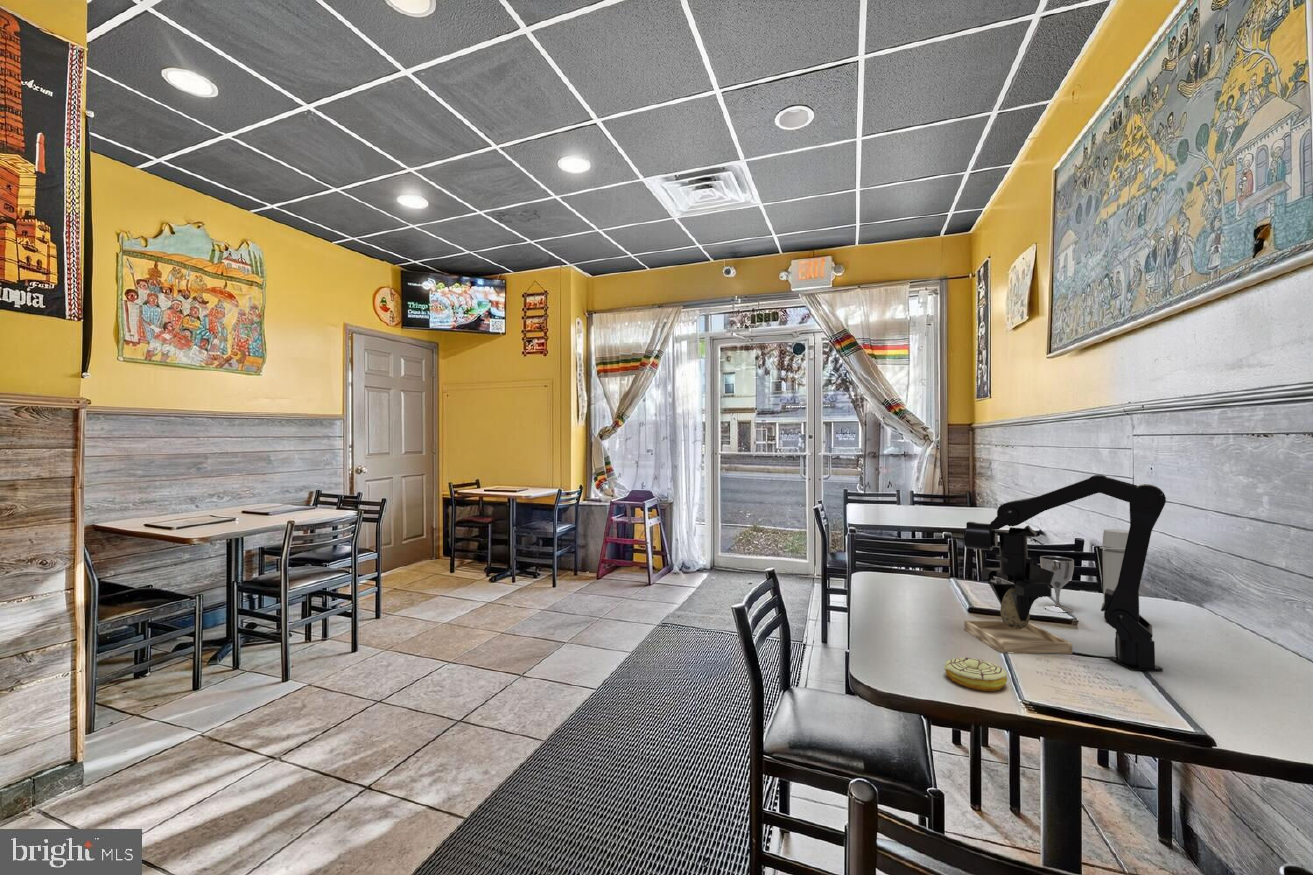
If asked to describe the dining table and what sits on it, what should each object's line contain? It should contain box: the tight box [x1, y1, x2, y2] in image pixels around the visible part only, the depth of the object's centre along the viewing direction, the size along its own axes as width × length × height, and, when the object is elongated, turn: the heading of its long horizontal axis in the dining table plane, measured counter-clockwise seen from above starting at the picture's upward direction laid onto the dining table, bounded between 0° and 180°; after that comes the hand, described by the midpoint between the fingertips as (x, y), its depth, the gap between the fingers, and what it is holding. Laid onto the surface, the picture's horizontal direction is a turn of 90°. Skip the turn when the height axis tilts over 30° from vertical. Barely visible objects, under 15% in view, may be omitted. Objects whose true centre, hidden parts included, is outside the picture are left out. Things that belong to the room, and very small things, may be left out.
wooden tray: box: [963, 620, 1073, 655], centre depth 131 cm, size 16×16×2 cm
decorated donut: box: [943, 657, 1008, 692], centre depth 109 cm, size 10×11×4 cm
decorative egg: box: [1000, 588, 1030, 630], centre depth 131 cm, size 6×6×10 cm
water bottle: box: [1099, 528, 1129, 620], centre depth 146 cm, size 9×8×25 cm
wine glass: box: [1039, 555, 1075, 614], centre depth 158 cm, size 8×8×15 cm
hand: (1015, 616), depth 131 cm, fingers closed on decorative egg, 6 cm apart
